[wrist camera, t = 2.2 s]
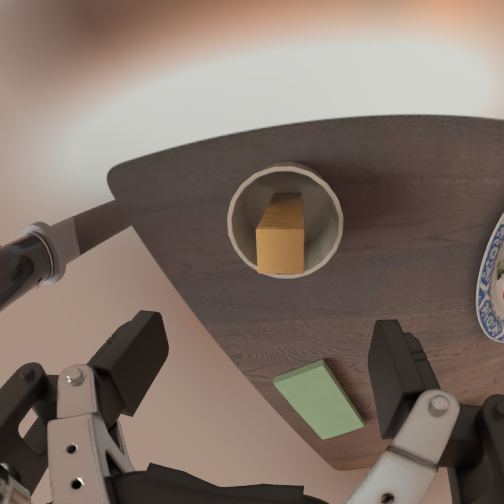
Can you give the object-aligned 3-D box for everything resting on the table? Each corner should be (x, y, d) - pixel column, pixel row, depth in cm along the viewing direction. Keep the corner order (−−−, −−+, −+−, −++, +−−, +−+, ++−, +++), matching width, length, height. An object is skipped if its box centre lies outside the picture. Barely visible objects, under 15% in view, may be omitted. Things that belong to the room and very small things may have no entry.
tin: (246, 248, 34) (231, 277, 27) (241, 163, 31) (223, 168, 24) (331, 248, 33) (340, 278, 25) (332, 161, 29) (344, 166, 22)
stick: (274, 220, 32) (257, 273, 19) (273, 193, 31) (255, 229, 18) (301, 220, 32) (303, 274, 19) (301, 193, 31) (304, 229, 18)
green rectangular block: (274, 377, 41) (273, 383, 39) (322, 358, 38) (323, 365, 37) (322, 433, 45) (322, 439, 43) (363, 420, 42) (364, 426, 41)
